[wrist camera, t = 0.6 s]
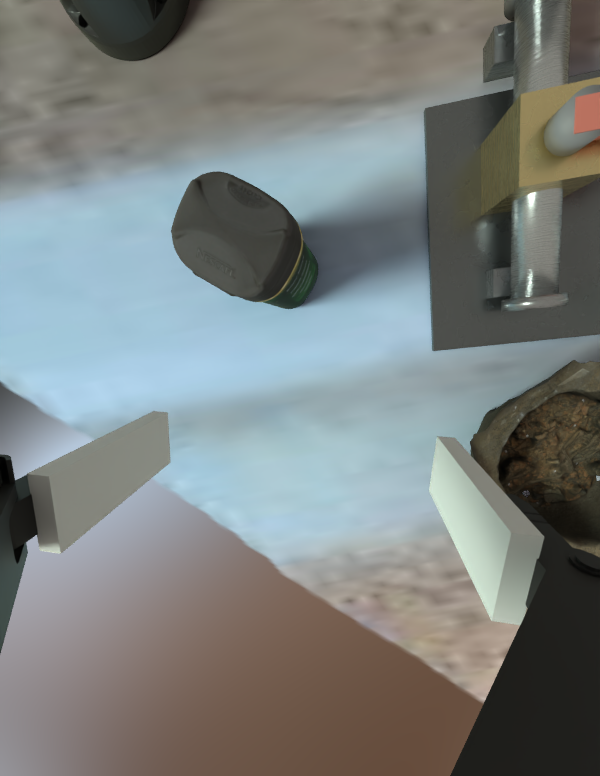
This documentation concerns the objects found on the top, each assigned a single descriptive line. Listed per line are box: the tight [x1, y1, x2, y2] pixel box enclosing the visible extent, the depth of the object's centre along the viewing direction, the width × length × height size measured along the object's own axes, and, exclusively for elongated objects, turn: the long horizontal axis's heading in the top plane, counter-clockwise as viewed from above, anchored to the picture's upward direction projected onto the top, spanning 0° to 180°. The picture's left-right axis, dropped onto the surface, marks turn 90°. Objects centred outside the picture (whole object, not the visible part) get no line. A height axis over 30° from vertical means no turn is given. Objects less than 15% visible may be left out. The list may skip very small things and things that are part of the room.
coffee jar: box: [171, 172, 318, 309], centre depth 31 cm, size 10×8×19 cm
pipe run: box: [424, 0, 600, 351], centre depth 30 cm, size 32×22×8 cm
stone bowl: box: [470, 360, 600, 557], centre depth 36 cm, size 25×25×9 cm
